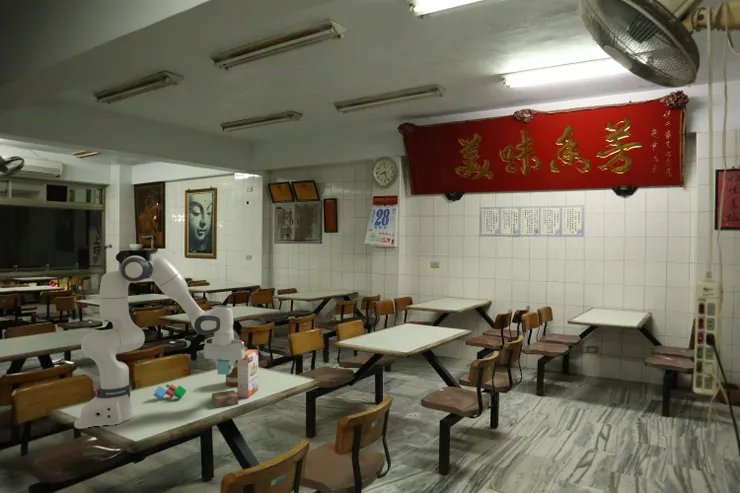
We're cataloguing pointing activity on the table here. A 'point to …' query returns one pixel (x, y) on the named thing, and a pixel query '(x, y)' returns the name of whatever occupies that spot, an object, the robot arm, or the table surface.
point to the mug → (233, 376)
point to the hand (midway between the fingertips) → (224, 368)
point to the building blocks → (170, 391)
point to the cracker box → (248, 374)
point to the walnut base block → (224, 398)
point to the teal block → (223, 366)
